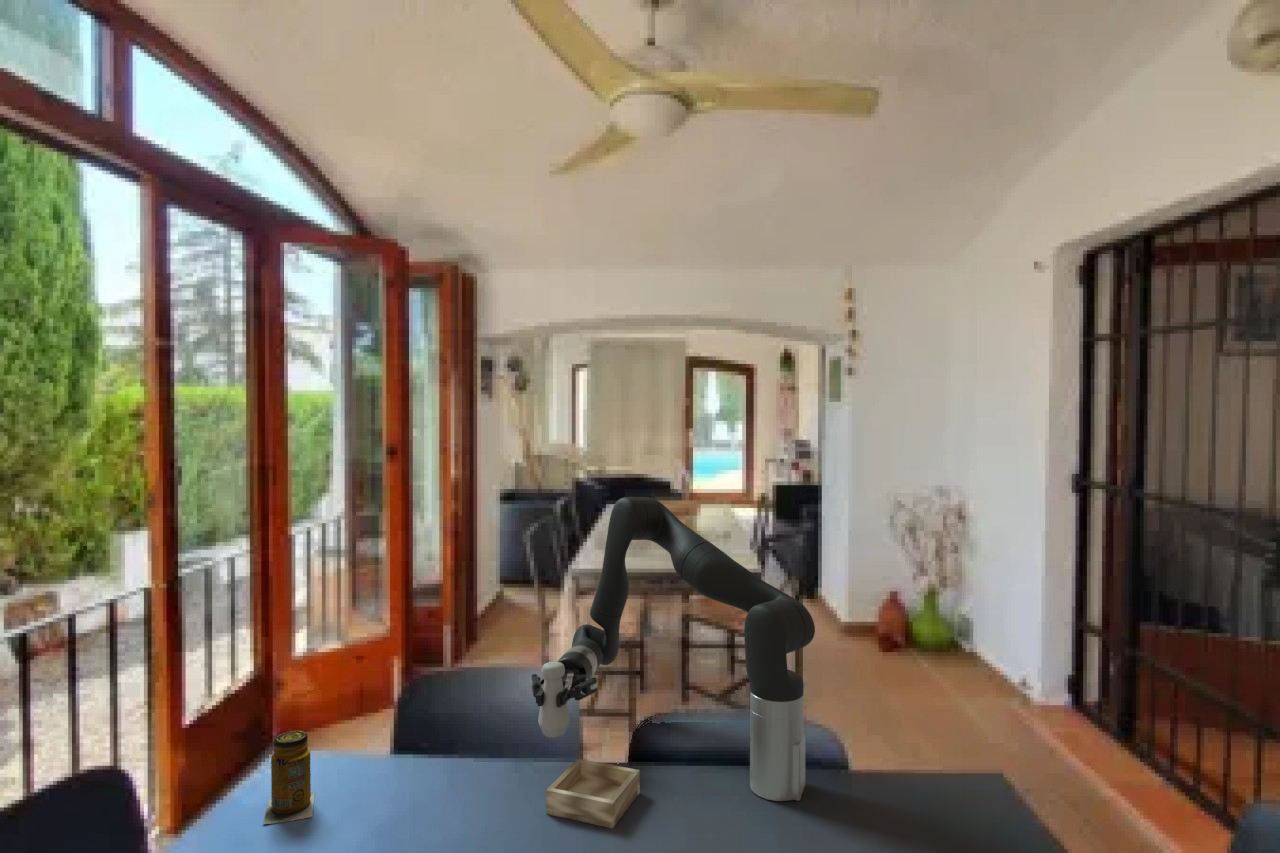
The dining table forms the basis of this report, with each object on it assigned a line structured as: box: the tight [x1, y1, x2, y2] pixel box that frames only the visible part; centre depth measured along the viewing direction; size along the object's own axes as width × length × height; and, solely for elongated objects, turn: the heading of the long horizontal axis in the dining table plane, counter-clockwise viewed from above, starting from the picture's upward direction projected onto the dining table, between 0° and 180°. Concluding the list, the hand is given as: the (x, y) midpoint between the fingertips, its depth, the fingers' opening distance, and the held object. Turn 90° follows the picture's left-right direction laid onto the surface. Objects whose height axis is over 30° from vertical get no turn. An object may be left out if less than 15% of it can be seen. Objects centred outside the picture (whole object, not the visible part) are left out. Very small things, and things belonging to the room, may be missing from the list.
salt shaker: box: [537, 661, 571, 739], centre depth 140 cm, size 6×6×13 cm
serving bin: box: [545, 758, 641, 829], centre depth 129 cm, size 12×12×4 cm
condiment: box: [262, 730, 316, 825], centre depth 127 cm, size 7×8×12 cm
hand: (548, 701), depth 138 cm, fingers closed on salt shaker, 3 cm apart
